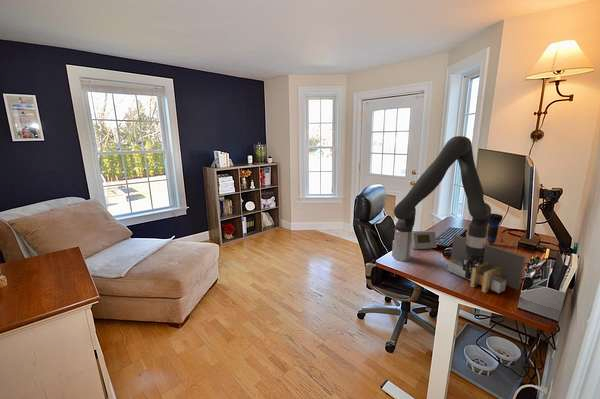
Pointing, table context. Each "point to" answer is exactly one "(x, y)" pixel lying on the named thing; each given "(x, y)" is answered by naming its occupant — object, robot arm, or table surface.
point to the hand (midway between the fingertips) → (470, 276)
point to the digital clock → (424, 240)
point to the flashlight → (493, 227)
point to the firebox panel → (494, 260)
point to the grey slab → (495, 281)
